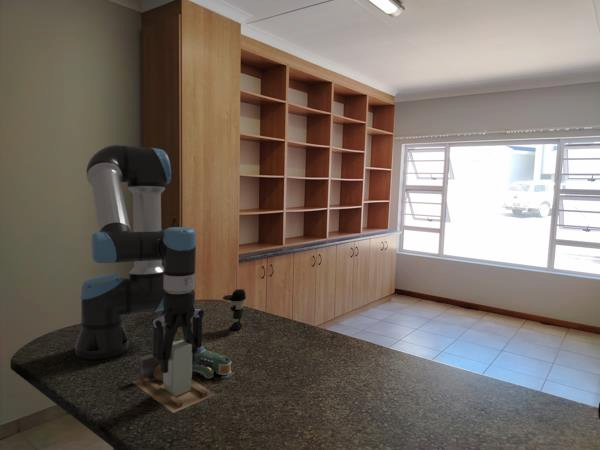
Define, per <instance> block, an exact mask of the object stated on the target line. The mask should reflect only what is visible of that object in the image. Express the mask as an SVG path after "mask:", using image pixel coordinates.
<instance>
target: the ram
mask: <svg viewBox="0 0 600 450" xmlns="http://www.w3.org/2000/svg"><path fill="white" fill-rule="evenodd" d="M169 358H170V359H172V385H171V386H168V385H167V384H165V383H164V389H165V390H166V391H167V392H169V393H170V394H172V395H173V396H178V395H180V394H183V393H185V392H188V391H190V390H191V379H192V378H191V367H192V345H191V344H189V343H187V342H186V341H185V339H180V340H176V341H174V342H173V345H172V349H171V353H170V357H169Z"/></svg>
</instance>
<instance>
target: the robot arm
mask: <svg viewBox="0 0 600 450" xmlns="http://www.w3.org/2000/svg"><path fill="white" fill-rule="evenodd" d="M171 176H172V168H171V162H170V158H169V155H168V154H167V152H166V151H165V150H163V149H162V148H161V149H160V148H155V147H154V148H153V147H152V146H151V147H148V146H147V147H146V146H144V147H143V146H131V145H120V144H113V145H109V146H108V145H107V146H106V147H104V148H101V149H100V150H98V151H97V152H96V153H94V155H92V157H91V158H90V159H89V161H88V163H87V166H86V179H87V182H88V184H89V185H90V186H91V187H92V194H93V200H94V209H95V216H96V222H97V223H96V224H97V229H98V232H95V233H93V234H92V236H91V257H92V261H93V262H95V263H97V264H115V263H118V264H119V263H128V262H133V268H132V269H131V270H129V272H128V278H124V277H123V275H122V274H120V273H114V274H113V273H108V274H107V273H106V274H101V275H97V276H94V277H90V278H88V279H86V280H85V281H84V282H83V283H82V285H81V292H80V300H81V309H80V310H81V318H80V319H81V321H80V322H81V324H80V325H81V328H80V332H79V334H78V337H77V339H76V342H75V346H74V349H75V350H74V353H75V354H74V355H75V356H76V357H78V358H81V359H84V360H102V359H103V360H105V359H108V358H113V357H116V356H119V355H122V354H123V353H125V352H126V351H127V350H128V349H129V338H128V335H127V333H126V329H125V327H124V323H123V319H124V318H123V317H124V316H129V315H137V314H138V315H139V314H146V313H157V312H161V311H162V313H161V315H160V316H159V317H157V318H152V319H151V321H150V323H151V325H152V328H153V336H152V354H153V357H154V358H156V359H157V360H159V361H160V360H161V372H163V382H164V383H165V384H167V385H168V386H171V385H172V359H170V358H169V357H170V353H171V349H172V345H173V341H175V335H176V334H177V333H178V329H179V328H181V329H182V330H181V331H182V335H183V340H184V341H186V342H187V343H189V344H191V345H192V363H194V360H195V353H196V352H197V351H198V350H197V348H200V347H201V346H203V344H202V343H203V317H204V314H205V311H204V310H201V309H200V308H195V299H196V298H195V297H196V296H195V295H196V294H195V293H196V292H195V290H194V289H195V286H196V282H195V281H196V257H197V256H196V253H197V252H196V249H197V248H196V247H197V244H198V243H197V239H196V235H197V233H196V230H195V229H194V228H193V227H186V226H174V227H172V226H170V227H168V228H166V229H162V198H161V197H162V193H163V192H164V191H165V190H166V185H168V184H170V183H171V180H172V177H171ZM121 183H127V190H128V191H130V192H131V193H132V209H133V210H132V213H133V214H132V217H133V221H132V222H133V231H132V229H131V226H130V220H129V216H128V212H127V208H126V202H125V198H124V194H123V190H122V184H121ZM191 320H192V322H191ZM164 323H166V324H164ZM164 330H165V333H164ZM192 372H193V371H192V367H191V379H192V378H193V374H192Z"/></svg>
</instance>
